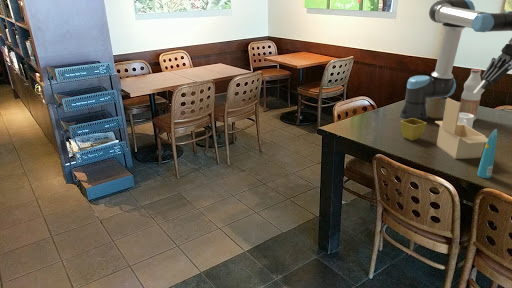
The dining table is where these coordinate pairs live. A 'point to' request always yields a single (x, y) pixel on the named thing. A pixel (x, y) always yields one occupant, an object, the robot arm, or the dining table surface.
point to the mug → (466, 119)
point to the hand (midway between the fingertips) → (476, 94)
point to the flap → (451, 115)
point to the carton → (461, 142)
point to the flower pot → (412, 128)
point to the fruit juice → (471, 94)
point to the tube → (488, 156)
